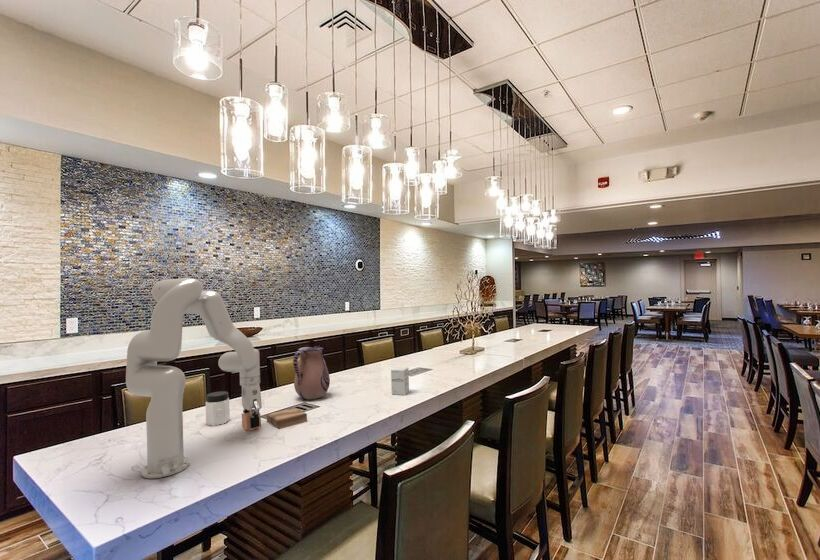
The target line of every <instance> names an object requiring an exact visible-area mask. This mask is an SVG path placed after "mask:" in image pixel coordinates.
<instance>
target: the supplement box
mask: <svg viewBox="0 0 820 560" xmlns="http://www.w3.org/2000/svg"><path fill="white" fill-rule="evenodd" d="M390 379H391V380H390V381H391V395H392V396H394V395H395V396H397V395H398V396H406V395H407V394H409V392H410V382H409V381H410V380H409V379H410V378H409V367H404V366H403V367H401V366H400V367H398V366H395V367H393V368H392V369H391V370H390Z"/></svg>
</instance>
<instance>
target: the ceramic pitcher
mask: <svg viewBox="0 0 820 560" xmlns="http://www.w3.org/2000/svg"><path fill="white" fill-rule="evenodd" d="M323 350H324V347H321V346H312V347H311V346H304V347H300V348H298V350H297V351H296V352H295V353H294V355H293V359H292V362H293V363H292V364H293V369H294V372H295V375H294V380H293V386H294V387H293V388H294V390H295V393H296V394H297V395H298V396H299V397H300V398H301V399H303V400H307V401H308V400H310V401H312V400H317V399H321V398H322V397H323V396H325V395H326V393H327V391H329V387H330V384H331V383H330V382H331V379H330V374H329V369H328V367H327V364H326V361H325V358H324V356H323ZM298 360H299V361H298Z"/></svg>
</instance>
